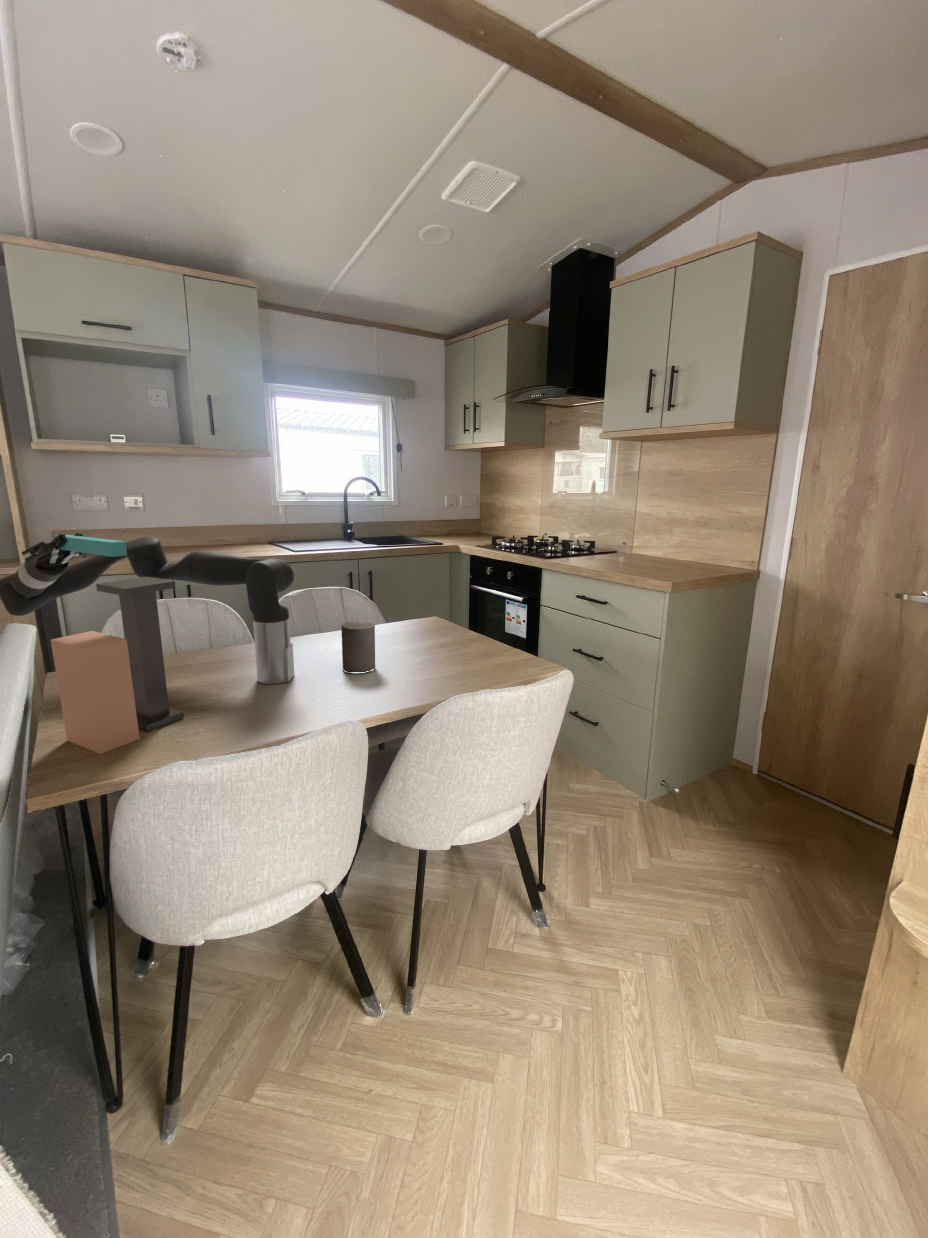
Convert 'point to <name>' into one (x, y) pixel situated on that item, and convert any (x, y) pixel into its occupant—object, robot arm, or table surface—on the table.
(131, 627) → the stand
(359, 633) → the pillar candle
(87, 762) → the table surface
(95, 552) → the teal bar
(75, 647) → the base block
